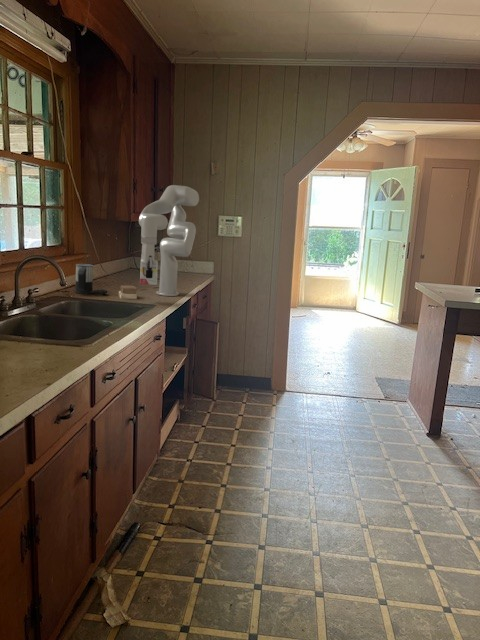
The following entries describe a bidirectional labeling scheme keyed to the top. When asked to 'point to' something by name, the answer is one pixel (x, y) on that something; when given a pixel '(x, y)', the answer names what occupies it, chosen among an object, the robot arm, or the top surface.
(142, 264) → the ink box
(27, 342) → the top surface
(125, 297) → the maple slab
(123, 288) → the walnut slab
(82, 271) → the milk frother
